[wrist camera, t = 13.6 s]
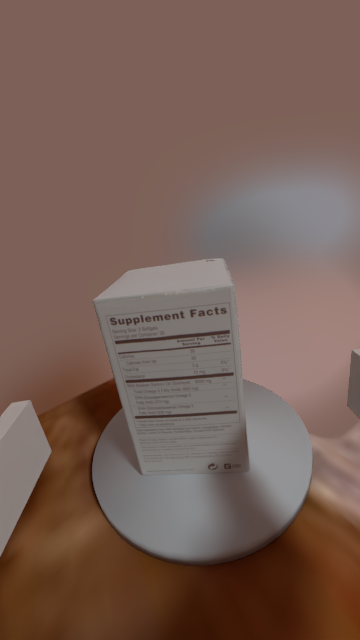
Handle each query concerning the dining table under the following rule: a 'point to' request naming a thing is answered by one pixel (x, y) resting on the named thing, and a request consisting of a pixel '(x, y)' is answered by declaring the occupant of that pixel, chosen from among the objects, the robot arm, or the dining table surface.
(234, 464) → the supplement box
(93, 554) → the dining table surface
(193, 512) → the plate
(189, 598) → the dining table surface
